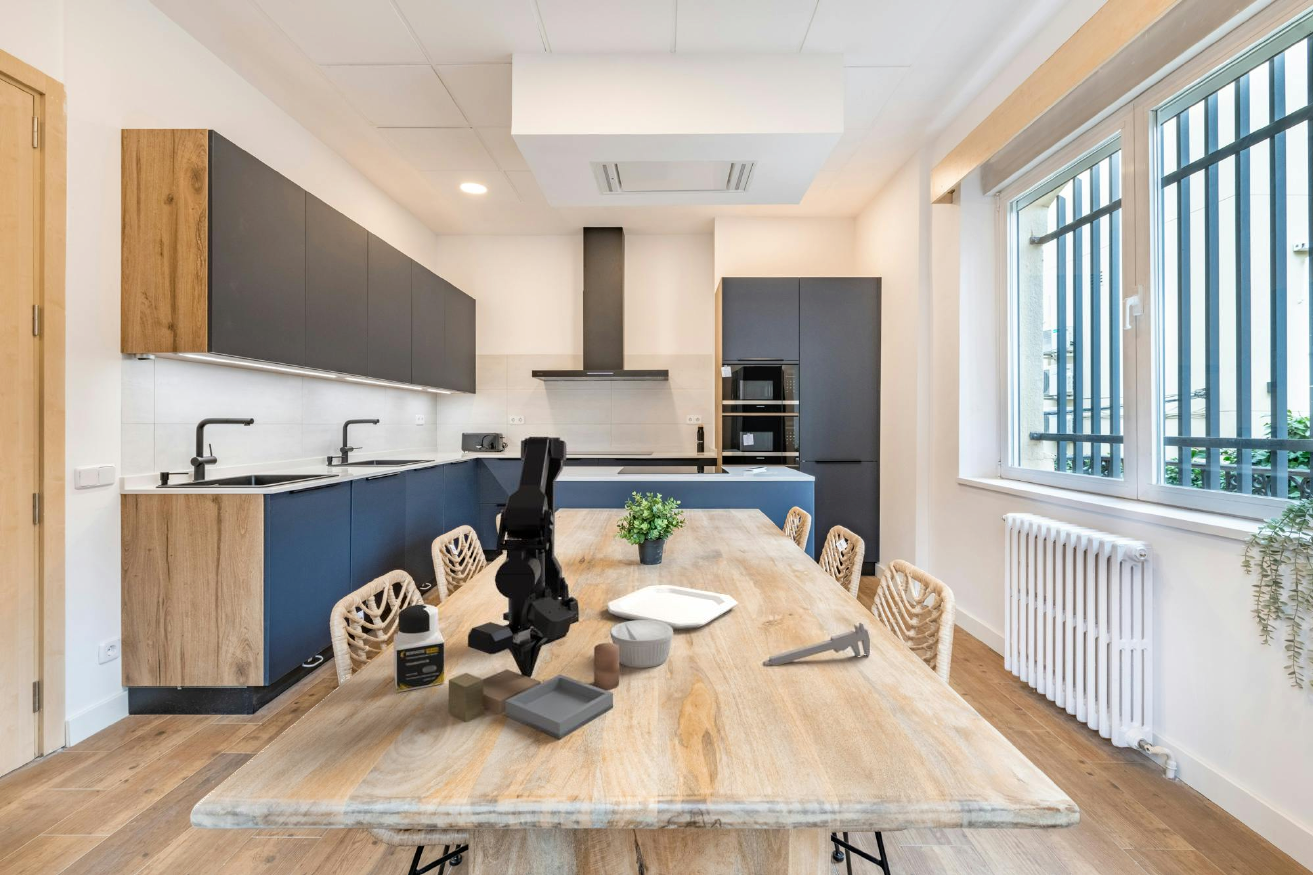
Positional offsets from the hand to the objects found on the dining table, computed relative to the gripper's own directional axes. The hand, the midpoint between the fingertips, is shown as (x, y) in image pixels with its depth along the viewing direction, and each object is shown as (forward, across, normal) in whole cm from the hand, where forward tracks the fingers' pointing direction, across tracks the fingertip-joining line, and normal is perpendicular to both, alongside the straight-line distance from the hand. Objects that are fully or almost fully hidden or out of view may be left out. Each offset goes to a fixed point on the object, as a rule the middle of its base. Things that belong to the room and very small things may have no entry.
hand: (527, 677), depth 94 cm
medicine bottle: (+2, -9, +16) cm, 19 cm away
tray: (+1, -3, -10) cm, 11 cm away
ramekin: (+2, +20, -8) cm, 22 cm away
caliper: (+2, +38, -34) cm, 51 cm away
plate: (+2, +46, +3) cm, 46 cm away
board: (+2, -5, 0) cm, 5 cm away
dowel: (+1, +8, -10) cm, 13 cm away
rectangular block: (+1, -12, 0) cm, 12 cm away
